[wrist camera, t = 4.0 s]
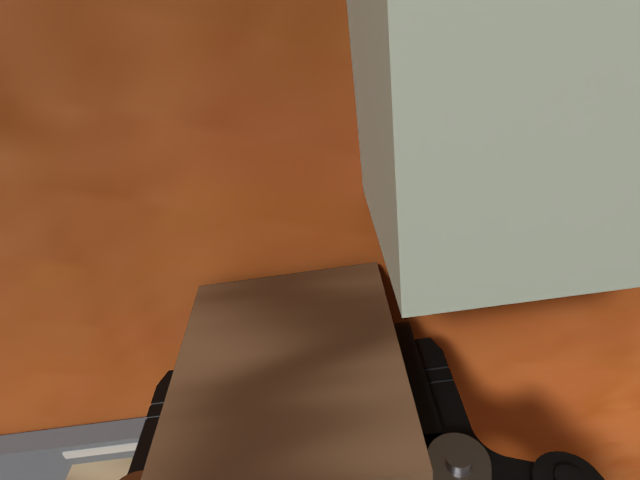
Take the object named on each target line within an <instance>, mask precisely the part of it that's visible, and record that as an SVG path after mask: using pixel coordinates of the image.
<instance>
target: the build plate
mask: <svg viewBox="0 0 640 480" xmlns="http://www.w3.org/2000/svg"><path fill="white" fill-rule="evenodd" d="M145 420H147V417H142V418H134V419H126V420H118V421H111V422H103V423H95V424H87V425H79V426H71V427H63V428H56V429H48V430H40V431H32V432H24V433H16V434H8V435H1V436H0V480H66V477H67V475H68V473H69V471H70V469H71V466H72V465H74V464H82V463H90V462H98V461H106V460H114V459H122V458H130V457H133V456H134V453H135V450H136V447H137V444H138V441H139V438H140V435H141V432H142V429H143V426H144V423H145Z"/></svg>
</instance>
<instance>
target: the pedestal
mask: <svg viewBox="0 0 640 480" xmlns="http://www.w3.org/2000/svg"><path fill="white" fill-rule="evenodd" d="M132 459H133V457H130V458H122V459H114V460H106V461H98V462H90V463H82V464H74V465H72V466H71V469H70V471H69V473H68V475H67V477H66V480H119V479H121V478H122V477H124V476H126V475H127V473H128V471H129V468H130V465H131V462H132Z"/></svg>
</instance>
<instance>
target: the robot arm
mask: <svg viewBox="0 0 640 480" xmlns="http://www.w3.org/2000/svg"><path fill="white" fill-rule="evenodd" d="M394 328H395V331H396V335H397V339H398V343H399V346H400V350H401V354H402V358H403V361H404V365H405V369H406V373H407V376H408V380H409V384H410V387H411V391H412V395H413V399H414V402H415V406H416V410H417V414H418V417H419V421H420V425H421V429H422V432H423V436H424V440H425V444H426V447H427V451H428V455H429V458H430V462H431V466H432V470H433V480H604V478H603V477H602V476H601V475H600V474H599V473H598V472H597V470H596V469H595V468H594V467H593V466H591V465H590V464H589V463H588V462H586V461H585V460H583V459H582V458H580V457H578V456H576V455H573V454H570V453H566V452H558V451H556V452H549V453H545V454H543V455H541V456H540V457H539V458H538V459H537V460H536V462H530V461H525V460H520V459H515V458H510V457H506V456H502V455H500V454H497V453H495V452H493V451H492V450H490V449H489V448H487V447H486V446H485V445H483V444H482V443H481V442H480V441H479V439H478V438H477V437H476V435H475V434H474V432H473V430H472V428H471V425H470V422H469V420H468V417H467V414H466V412H465V409H464V406H463V404H462V401H461V398H460V396H459V393H458V390H457V388H456V385H455V382H454V381H453V377H452V374H451V372H450V369H449V368H448V364H447V361H446V358H445V356H444V353H443V350H442V349H441V348H440V347H439V346H438V345H437V344H436V343H435V342H434V341H433V340H432V339H431V338H423V339H415V340H414V337H413V333H412V330H411V327H410V324H409V322H401V323H394ZM173 371H174V370H171V371H168V372H167V373H166V375H165V376H164V377H163V379H162V380H161V381H160V382H159V384H158V385H157V387H156V390H155V393H154V396H153V399H152V402H151V406H150V408H149V411H148V414H147V420H145V423H144V426H143V429H142V432H141V435H140V438H139V441H138V444H137V447H136V450H135V453H134V456H133V459H132V462H131V465H130V468H129V471H128V473H127V475H126V476H124V477H122V478H121V479H119V480H141V477H142V474H143V470H144V467H145V464H146V460H147V457H148V454H149V450H150V447H151V444H152V441H153V437H154V434H155V431H156V427H157V424H158V421H159V417H160V414H161V411H162V407H163V404H164V401H165V398H166V394H167V391H168V388H169V384H170V381H171V378H172V374H173Z"/></svg>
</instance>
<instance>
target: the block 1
mask: <svg viewBox="0 0 640 480" xmlns="http://www.w3.org/2000/svg"><path fill="white" fill-rule="evenodd" d="M141 480H433V470H432V466H431V462H430V458H429V455H428V451H427V447H426V444H425V440H424V436H423V432H422V429H421V425H420V421H419V417H418V414H417V410H416V406H415V402H414V399H413V395H412V391H411V387H410V384H409V380H408V376H407V373H406V369H405V365H404V361H403V358H402V354H401V350H400V346H399V343H398V339H397V335H396V331H395V328H394V324H393V320H392V316H391V313H390V309H389V305H388V302H387V298H386V294H385V290H384V287H383V283H382V279H381V275H380V272H379V268H378V264H377V262H374V263H367V264H359V265H352V266H345V267H337V268H330V269H322V270H315V271H308V272H300V273H293V274H285V275H278V276H270V277H263V278H256V279H248V280H241V281H233V282H226V283H218V284H211V285H204V286H199V288H198V292H197V295H196V298H195V302H194V305H193V308H192V312H191V315H190V318H189V322H188V325H187V328H186V331H185V335H184V338H183V341H182V345H181V348H180V351H179V355H178V358H177V361H176V365H175V368H174V371H173V374H172V378H171V381H170V384H169V388H168V391H167V394H166V398H165V401H164V404H163V407H162V411H161V414H160V417H159V421H158V424H157V427H156V431H155V434H154V437H153V441H152V444H151V447H150V450H149V454H148V457H147V460H146V464H145V467H144V470H143V474H142V477H141Z"/></svg>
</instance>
